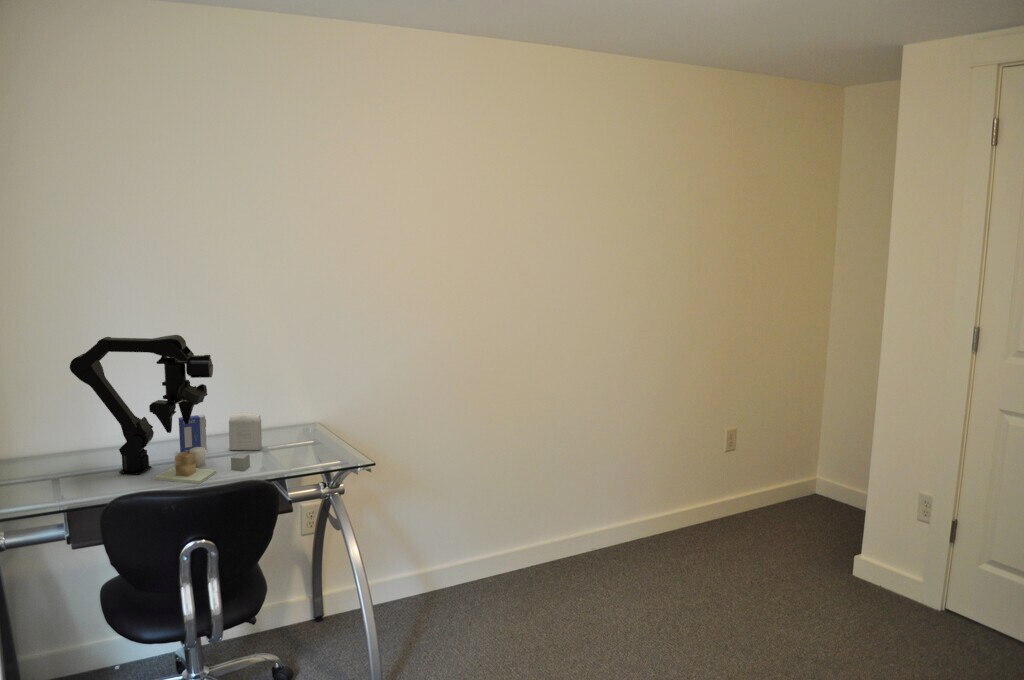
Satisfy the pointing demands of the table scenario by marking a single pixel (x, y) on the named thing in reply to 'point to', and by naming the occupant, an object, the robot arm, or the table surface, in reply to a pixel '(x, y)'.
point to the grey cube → (240, 462)
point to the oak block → (185, 464)
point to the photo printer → (245, 432)
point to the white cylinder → (199, 456)
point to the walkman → (192, 433)
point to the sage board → (194, 478)
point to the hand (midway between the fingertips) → (178, 428)
